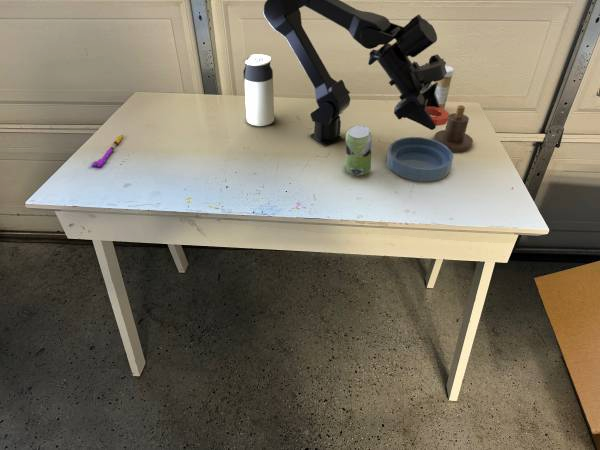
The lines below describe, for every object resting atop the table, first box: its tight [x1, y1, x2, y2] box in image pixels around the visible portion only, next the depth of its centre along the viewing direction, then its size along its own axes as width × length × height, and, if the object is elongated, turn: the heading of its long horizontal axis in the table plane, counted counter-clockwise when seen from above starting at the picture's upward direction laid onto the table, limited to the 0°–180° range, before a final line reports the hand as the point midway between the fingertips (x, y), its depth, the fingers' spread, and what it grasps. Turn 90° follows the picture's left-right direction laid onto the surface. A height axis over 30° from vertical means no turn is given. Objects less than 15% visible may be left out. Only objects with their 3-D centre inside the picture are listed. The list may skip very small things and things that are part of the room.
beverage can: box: [345, 124, 373, 176], centre depth 106 cm, size 6×7×12 cm
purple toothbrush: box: [91, 134, 124, 168], centre depth 116 cm, size 3×1×16 cm
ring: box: [426, 106, 450, 127], centre depth 105 cm, size 7×7×2 cm
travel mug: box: [243, 53, 275, 127], centre depth 125 cm, size 8×8×18 cm
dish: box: [386, 136, 454, 182], centre depth 111 cm, size 16×16×4 cm
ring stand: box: [433, 104, 474, 154], centre depth 118 cm, size 10×10×11 cm
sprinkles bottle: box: [434, 65, 455, 110], centre depth 132 cm, size 5×5×13 cm
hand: (437, 122), depth 105 cm, fingers closed on ring, 7 cm apart
